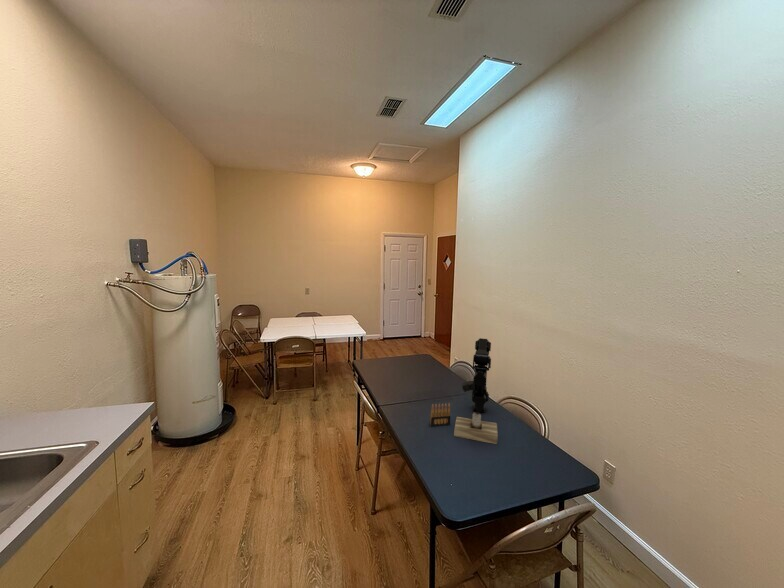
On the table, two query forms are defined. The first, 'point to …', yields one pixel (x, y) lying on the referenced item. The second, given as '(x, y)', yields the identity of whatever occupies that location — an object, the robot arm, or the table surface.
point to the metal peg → (476, 420)
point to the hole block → (476, 430)
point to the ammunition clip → (440, 415)
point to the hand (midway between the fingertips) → (478, 408)
